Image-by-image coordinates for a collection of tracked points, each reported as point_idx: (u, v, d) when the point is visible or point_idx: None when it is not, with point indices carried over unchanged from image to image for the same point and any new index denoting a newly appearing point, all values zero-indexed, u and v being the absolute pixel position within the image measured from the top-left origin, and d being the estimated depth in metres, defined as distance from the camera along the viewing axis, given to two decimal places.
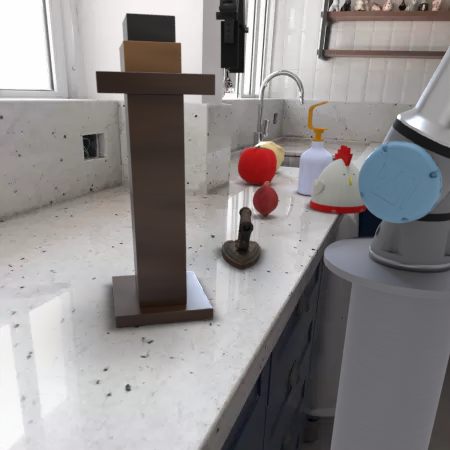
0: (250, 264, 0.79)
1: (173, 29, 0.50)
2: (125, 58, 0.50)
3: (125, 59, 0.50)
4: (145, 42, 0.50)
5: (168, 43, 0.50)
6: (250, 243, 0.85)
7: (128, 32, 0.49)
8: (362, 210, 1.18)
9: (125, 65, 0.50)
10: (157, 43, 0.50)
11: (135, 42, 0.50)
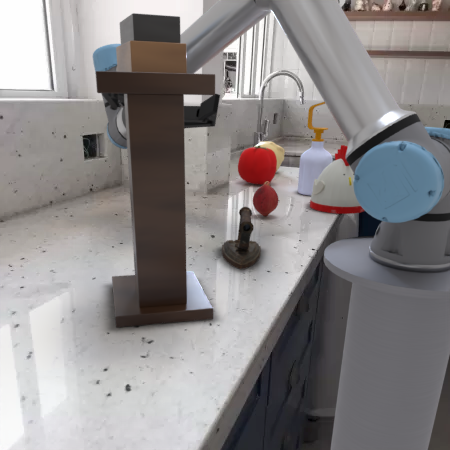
0: (250, 264, 0.79)
1: (178, 30, 0.51)
2: (132, 58, 0.50)
3: (132, 59, 0.50)
4: (152, 42, 0.50)
5: (174, 44, 0.51)
6: (250, 243, 0.85)
7: (134, 32, 0.49)
8: (362, 210, 1.18)
9: (132, 65, 0.50)
10: (163, 43, 0.50)
11: (142, 42, 0.50)
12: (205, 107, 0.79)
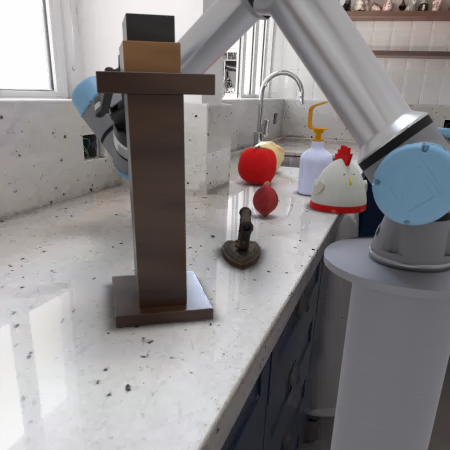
0: (250, 264, 0.79)
1: (172, 29, 0.50)
2: (124, 58, 0.50)
3: (124, 59, 0.50)
4: (144, 42, 0.50)
5: (167, 43, 0.50)
6: (250, 243, 0.85)
7: (127, 32, 0.49)
8: (362, 210, 1.18)
9: (124, 65, 0.50)
10: (156, 43, 0.50)
11: (134, 42, 0.49)
12: None
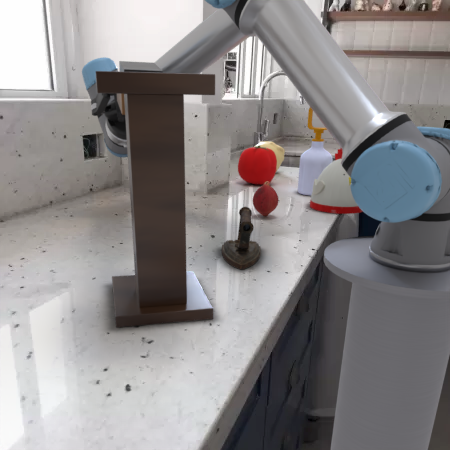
0: (250, 264, 0.79)
1: None
2: (122, 104, 0.64)
3: (122, 104, 0.64)
4: None
5: None
6: (250, 243, 0.85)
7: None
8: None
9: (122, 109, 0.64)
10: None
11: None
12: None
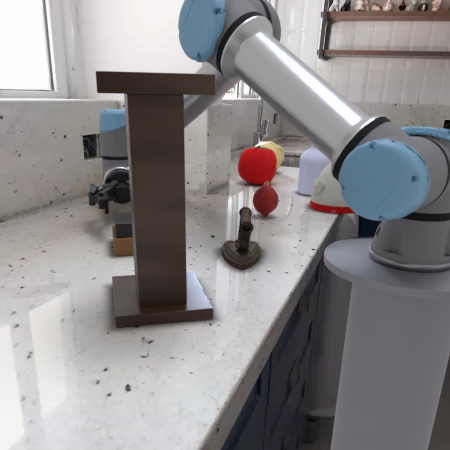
0: (250, 264, 0.79)
1: None
2: (114, 248, 0.83)
3: (114, 249, 0.83)
4: (126, 239, 0.83)
5: None
6: (250, 243, 0.85)
7: (116, 233, 0.82)
8: None
9: (114, 252, 0.83)
10: None
11: (120, 239, 0.82)
12: None
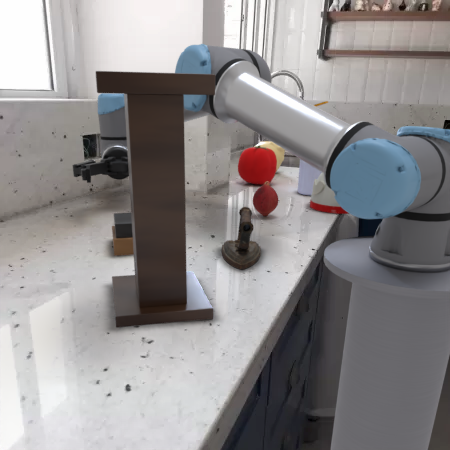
0: (250, 264, 0.79)
1: None
2: (114, 248, 0.83)
3: (114, 249, 0.83)
4: (126, 239, 0.83)
5: None
6: (250, 243, 0.85)
7: (116, 233, 0.82)
8: None
9: (114, 252, 0.83)
10: None
11: (120, 239, 0.82)
12: None
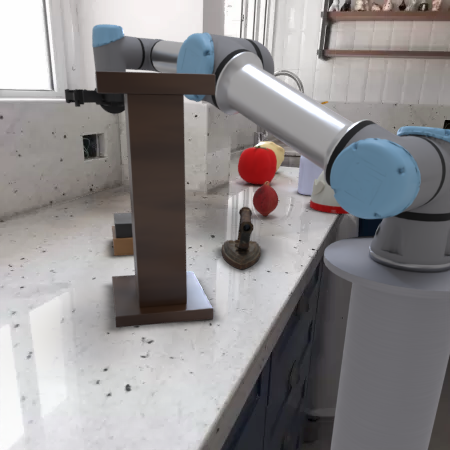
0: (250, 264, 0.79)
1: None
2: (114, 248, 0.83)
3: (114, 249, 0.83)
4: (126, 239, 0.83)
5: None
6: (250, 243, 0.85)
7: (116, 233, 0.82)
8: None
9: (114, 252, 0.83)
10: None
11: (120, 239, 0.82)
12: None
